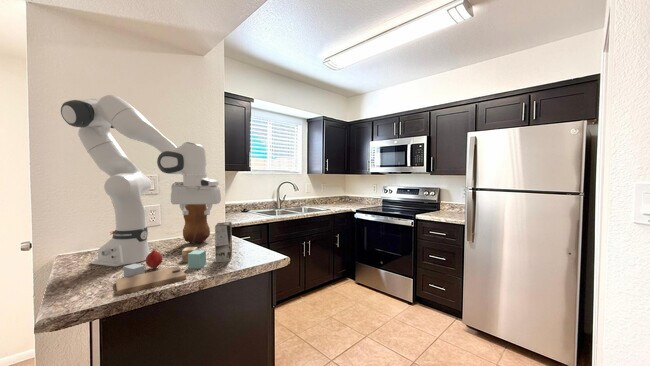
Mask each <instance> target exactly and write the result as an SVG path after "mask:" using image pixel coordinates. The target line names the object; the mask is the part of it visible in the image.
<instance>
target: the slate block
mask: <svg viewBox="0 0 650 366" xmlns="http://www.w3.org/2000/svg"><path fill="white" fill-rule="evenodd" d="M145 266H146V265H143V264H141V263H131V264H127V265H123V278H124V277H129V276H134V275H139V274H143V273H146V271H145Z"/></svg>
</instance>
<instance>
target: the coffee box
mask: <svg viewBox="0 0 650 366" xmlns="http://www.w3.org/2000/svg"><path fill="white" fill-rule="evenodd" d="M232 225H233V224H232V221H226V222H217V223H216V225H214V240H215V241H214V243H215V245H214V246H215V247H214V248H215V251H214V253H215V254H214V255H215V256H214V257H215V261H214V262H215V263H224V262H225V263H226V262H227V263H228V262H231V260H232V256H233V235H232V232H233V231H232V229H233V227H232Z"/></svg>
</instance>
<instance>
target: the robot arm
mask: <svg viewBox="0 0 650 366" xmlns="http://www.w3.org/2000/svg"><path fill="white" fill-rule="evenodd" d="M60 115H61V117H62V118H63V121H65V123H67V124H68V125H69V126H72V127H74V128H78V131H77V134H78V135H77V136H78V137H79V139H80V141H81V144H82V145H83V148H84V149H85V151H87V153H88V154H89V156H90V157H91V159H92V160H93V162H94V163H95V164H96V166H97V167H98V169H99V170H100V171H102V172H104V173H105V174H107V175H108V176H109V178H107V179H106V180H105V182H104V186H103V187H104V192H105V193H106V194H107V196H109V197H110V200H111V204H112V206H113V210H114V215H115V230H113V231H110V232H109V233H110V235H112V238H111V239H110V240H108V241H107V242H106V243H105V244H103V245H102V246H100V247H99V248H98V251H97V257H95V258H94V259H91V260H90V264H92V265H98V266H107V267H113V268H114V267H115V268H116V267H120V266H126V265H131V264H138V263H140V262H144V261H146V257H147V256H148V254H149V253H151V251H150V248H149V243H148V233H149V232H148V227H147V210H146V208H145V207H144V204H143V202H142V199H141V196H144V195H146V194H147V193H148V192H149V191H150V190H151V189H152V181H151V179H150V178H149V177H148V176H146V174H144V173H143V171H141V170H140V169H139V167H138V166H137V165H136V164H135V163H134V162H133V161H131V159H130V158H129V157H128V156H127V155H126V153H125V152H124V150H123V149H122V148H121V146H120V145H119V142H117V140H116V138H115V137H114V136H113V135H112V133H111V129H114V130H115V131H116V132H118V133H120V134H121V135H123V136H124V137H126V138H128V139H129V140H132V141H133V140H134V141H137V142H141V143H143V144H147V145H150V146H151V147H153V148H155V149H156V150H157V151H158V152H160V154H159V155H158V157H157V159H156V164H157V167H158V169H159V171H161V172H162V173H164V174H168V175H182V181H175V182H174V183H172V184H171V188H170V189H171V192H170V203H171V204H172V205H179V208H180V210H181V212H182V216H184V215H188V210H186V208H185V206H186V204H206V207H207V210H206V211H204V213H205V214H204V215H207V216H210V214H211V209H212V208H213V205H219V204H220V203H221V201H222V197H221V189H220V187H219V184H220V183H219V181H218V180H217V179H213V178H210V177H208V175H207V173H208V172H207V171H206V166H207V157H206V150H205V147H204V146H203V145H202V144H200V143H195V142H188V141H187V142H183V143H182V144H181V145H180V146H177V145H176V144H175V143H173V142H172V141H171V140H170V139H169V138H168V137H167V136H165V135H164V134H162V133H161V131H159V130H158V129H157V128H156V127H155V126H154V125H153V124H152V123H151V122H150V121H148V119H147V118H146V117H144V115H143V114H141V113H140V112H139V111H138V110H137V109H136V108H135V107H134V106H132V104H130V103H129V102H127V101H126V100H125V99H123V98H121V97H119V96H118V95H115V94H106V95H104V96H102V97H100V98H90V99H89V98H88V99H80V100H79V99H72V100H68V101H65V102H63V103H62V104H61V108H60Z"/></svg>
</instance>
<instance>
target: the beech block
mask: <svg viewBox="0 0 650 366" xmlns="http://www.w3.org/2000/svg"><path fill="white" fill-rule="evenodd" d="M194 250H198V246H189V247H184V248H183V249H182V250H181V257H182V258H181V260H182V262H183V263H184V262H188V254H189V253H191V252H192V251H194Z"/></svg>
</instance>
